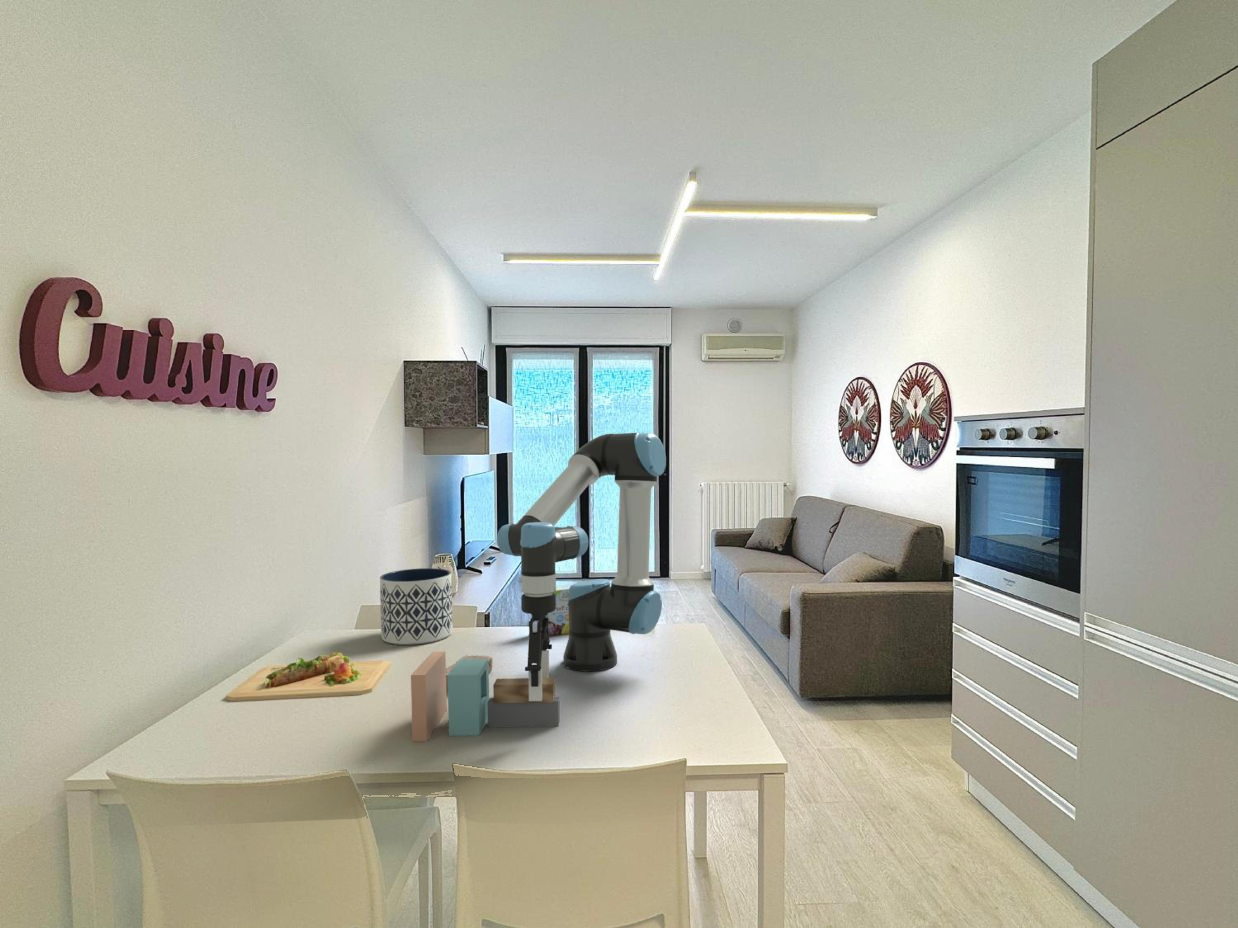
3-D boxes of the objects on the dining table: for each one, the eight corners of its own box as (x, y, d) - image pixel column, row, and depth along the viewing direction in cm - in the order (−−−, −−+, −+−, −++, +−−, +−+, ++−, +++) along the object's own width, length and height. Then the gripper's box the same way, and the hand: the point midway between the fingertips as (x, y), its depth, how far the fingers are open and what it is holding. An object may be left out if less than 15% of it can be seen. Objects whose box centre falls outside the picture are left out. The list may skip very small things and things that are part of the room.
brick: (464, 694, 168) (464, 675, 168) (434, 691, 170) (434, 673, 170) (493, 672, 184) (493, 655, 183) (466, 670, 186) (465, 653, 186)
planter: (390, 628, 230) (388, 569, 229) (456, 625, 232) (455, 566, 231) (373, 647, 207) (371, 582, 207) (447, 644, 210) (446, 579, 209)
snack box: (537, 639, 214) (536, 592, 214) (531, 634, 219) (530, 588, 219) (597, 629, 224) (596, 584, 223) (590, 625, 229) (589, 581, 228)
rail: (559, 720, 150) (559, 696, 150) (558, 725, 147) (558, 701, 147) (490, 721, 150) (489, 697, 150) (487, 726, 147) (487, 702, 147)
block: (489, 714, 154) (488, 658, 154) (479, 735, 143) (478, 674, 143) (461, 714, 154) (459, 658, 154) (448, 735, 143) (447, 675, 143)
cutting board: (392, 666, 191) (391, 640, 191) (370, 696, 168) (369, 667, 168) (263, 672, 188) (263, 645, 188) (223, 704, 165) (222, 674, 164)
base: (446, 710, 157) (445, 651, 156) (426, 740, 141) (425, 674, 140) (433, 710, 157) (432, 651, 156) (412, 741, 141) (410, 675, 140)
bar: (555, 695, 150) (554, 677, 150) (553, 702, 146) (552, 684, 146) (497, 696, 150) (496, 678, 150) (493, 703, 146) (493, 684, 146)
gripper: (529, 582, 160) (530, 670, 160) (512, 606, 135) (513, 710, 135) (560, 582, 160) (561, 670, 160) (549, 605, 135) (550, 710, 135)
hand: (539, 689), depth 148 cm, fingers open, 13 cm apart
